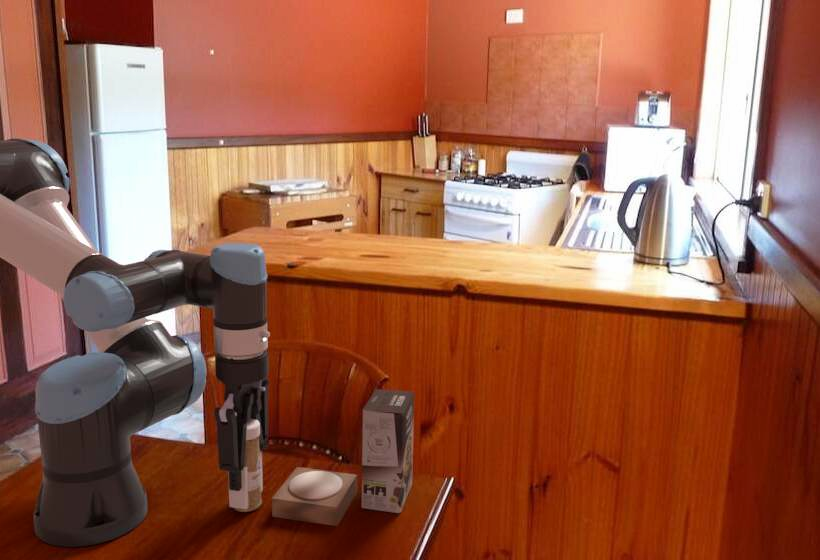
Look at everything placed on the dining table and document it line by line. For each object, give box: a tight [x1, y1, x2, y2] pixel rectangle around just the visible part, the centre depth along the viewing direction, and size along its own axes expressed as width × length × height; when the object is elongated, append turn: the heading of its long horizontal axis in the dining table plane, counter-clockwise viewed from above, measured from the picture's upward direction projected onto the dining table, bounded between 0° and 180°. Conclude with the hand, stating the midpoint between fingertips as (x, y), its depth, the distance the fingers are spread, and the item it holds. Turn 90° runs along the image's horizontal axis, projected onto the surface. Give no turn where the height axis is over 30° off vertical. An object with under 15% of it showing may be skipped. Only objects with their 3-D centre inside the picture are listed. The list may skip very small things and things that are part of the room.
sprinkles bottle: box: [233, 419, 263, 513], centre depth 110 cm, size 5×5×13 cm
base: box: [271, 466, 358, 527], centre depth 112 cm, size 10×10×3 cm
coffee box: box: [361, 388, 415, 514], centre depth 113 cm, size 9×6×16 cm
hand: (246, 497), depth 111 cm, fingers closed on sprinkles bottle, 4 cm apart
